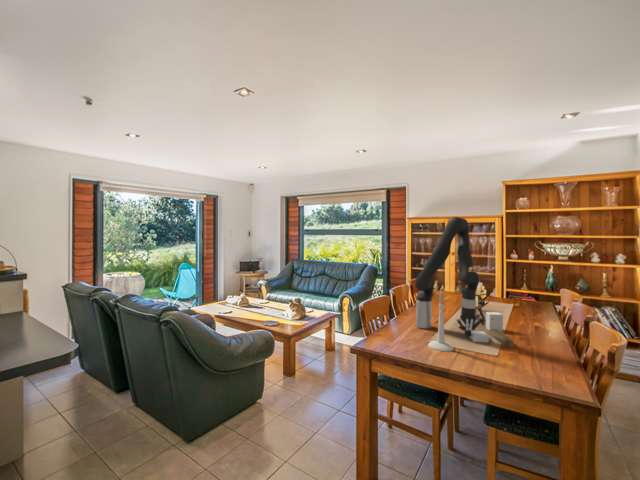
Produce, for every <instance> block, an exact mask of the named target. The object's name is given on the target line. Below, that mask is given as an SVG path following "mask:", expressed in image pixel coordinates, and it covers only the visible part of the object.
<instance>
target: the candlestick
mask: <svg viewBox="0 0 640 480" xmlns="http://www.w3.org/2000/svg"><path fill="white" fill-rule="evenodd" d="M444 294H445V292H444V291H439V303H438V304H437V305H438V308H439V311H438V312H439V315H438V327H437V329H438V330H437V340H432V341H430V342H429V343H428V344H427V345H428V348H430V349H431V350H433V351H438V352H448V353H449V352H452V351H453V352H454V350H455V348H454V345H453V344H451V343H449V342H447V341H446V339H445V321H444V320H445V316H444V315H445V313H444V309H445V306H446V304H444V303H445V302H444V298H445V295H444Z"/></svg>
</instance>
